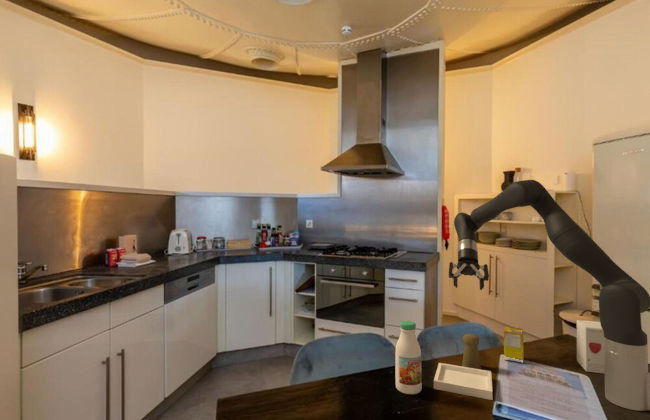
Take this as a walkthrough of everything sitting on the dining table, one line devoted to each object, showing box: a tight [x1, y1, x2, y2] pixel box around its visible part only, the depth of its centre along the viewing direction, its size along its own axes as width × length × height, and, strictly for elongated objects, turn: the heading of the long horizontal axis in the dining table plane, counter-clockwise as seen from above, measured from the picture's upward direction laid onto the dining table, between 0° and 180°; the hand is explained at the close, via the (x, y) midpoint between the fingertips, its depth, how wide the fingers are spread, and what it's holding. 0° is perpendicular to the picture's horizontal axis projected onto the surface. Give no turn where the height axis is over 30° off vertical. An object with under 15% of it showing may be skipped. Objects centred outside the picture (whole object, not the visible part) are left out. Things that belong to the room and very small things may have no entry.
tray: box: [433, 362, 493, 401], centre depth 106 cm, size 16×14×2 cm
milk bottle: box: [394, 320, 423, 395], centre depth 104 cm, size 8×8×20 cm
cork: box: [461, 333, 482, 370], centre depth 118 cm, size 6×6×11 cm
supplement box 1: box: [503, 326, 525, 361], centre depth 124 cm, size 6×6×11 cm
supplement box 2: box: [576, 319, 605, 375], centre depth 116 cm, size 9×9×15 cm
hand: (468, 287), depth 128 cm, fingers open, 8 cm apart
